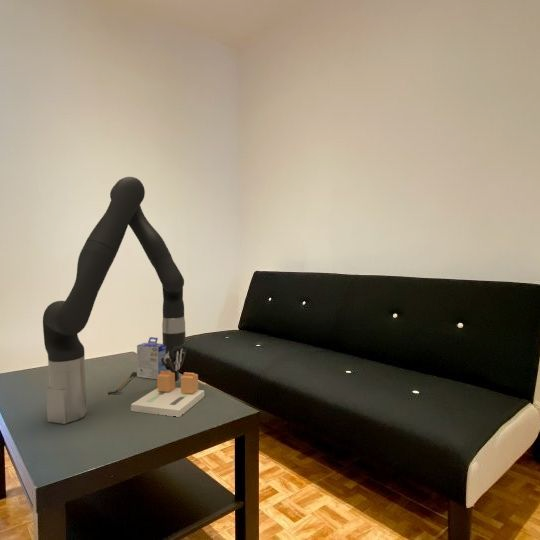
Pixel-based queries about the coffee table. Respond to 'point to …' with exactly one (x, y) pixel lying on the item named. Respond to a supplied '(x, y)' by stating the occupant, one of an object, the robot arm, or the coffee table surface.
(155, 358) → the ink cartridge box
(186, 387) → the tab
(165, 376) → the tab
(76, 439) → the coffee table surface
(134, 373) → the tactical tomahawk
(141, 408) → the switch bank
